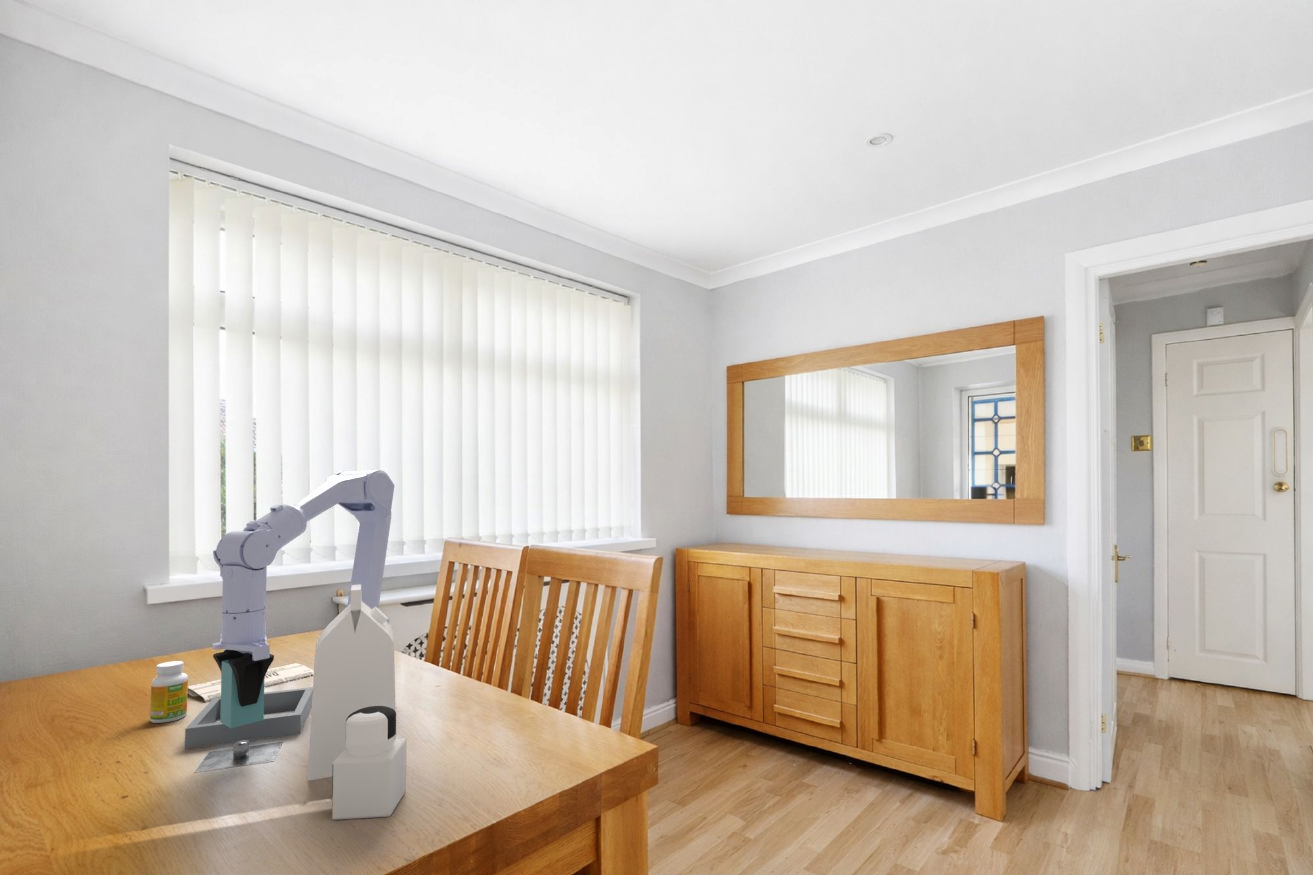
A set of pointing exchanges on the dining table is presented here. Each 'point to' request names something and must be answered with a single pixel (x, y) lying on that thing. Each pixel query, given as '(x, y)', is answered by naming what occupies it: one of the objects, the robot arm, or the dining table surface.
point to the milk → (348, 678)
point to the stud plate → (239, 756)
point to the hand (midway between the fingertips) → (242, 701)
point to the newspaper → (271, 678)
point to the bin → (212, 733)
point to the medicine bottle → (369, 766)
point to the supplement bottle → (169, 693)
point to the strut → (237, 702)
